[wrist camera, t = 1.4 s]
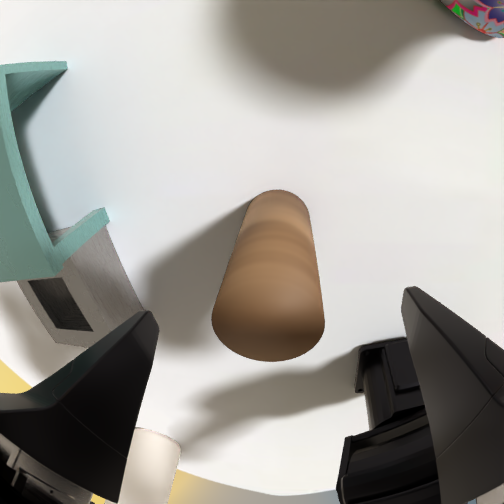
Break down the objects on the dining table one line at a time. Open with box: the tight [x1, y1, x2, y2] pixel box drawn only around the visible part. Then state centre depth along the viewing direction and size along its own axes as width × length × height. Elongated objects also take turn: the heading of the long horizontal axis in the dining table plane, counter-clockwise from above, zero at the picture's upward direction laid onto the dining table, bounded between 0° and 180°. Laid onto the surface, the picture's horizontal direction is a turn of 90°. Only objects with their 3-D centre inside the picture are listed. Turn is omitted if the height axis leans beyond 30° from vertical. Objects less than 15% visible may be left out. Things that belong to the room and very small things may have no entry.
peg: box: [211, 190, 325, 362], centre depth 12 cm, size 4×4×8 cm
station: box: [0, 61, 143, 347], centre depth 14 cm, size 19×10×6 cm, turn 11°
